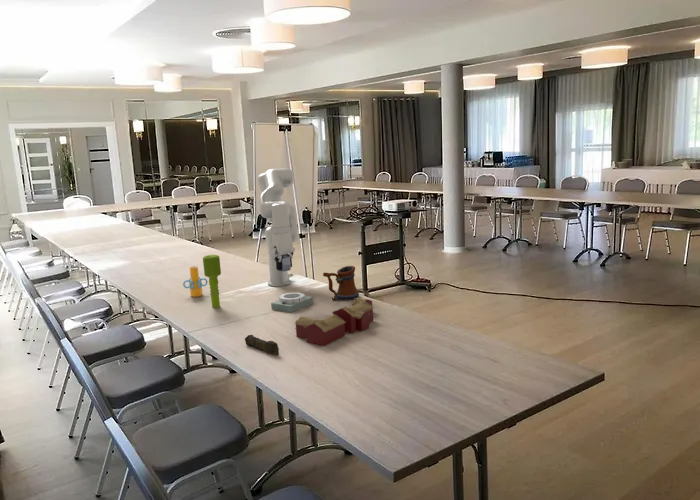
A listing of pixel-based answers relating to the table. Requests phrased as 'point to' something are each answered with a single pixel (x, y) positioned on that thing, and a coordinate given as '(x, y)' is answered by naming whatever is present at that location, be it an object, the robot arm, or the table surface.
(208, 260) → the microphone
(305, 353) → the table surface
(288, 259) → the hub
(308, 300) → the block
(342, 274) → the mug
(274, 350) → the brown elongated bar
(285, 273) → the robot arm
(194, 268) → the cylinder
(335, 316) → the toy houses
